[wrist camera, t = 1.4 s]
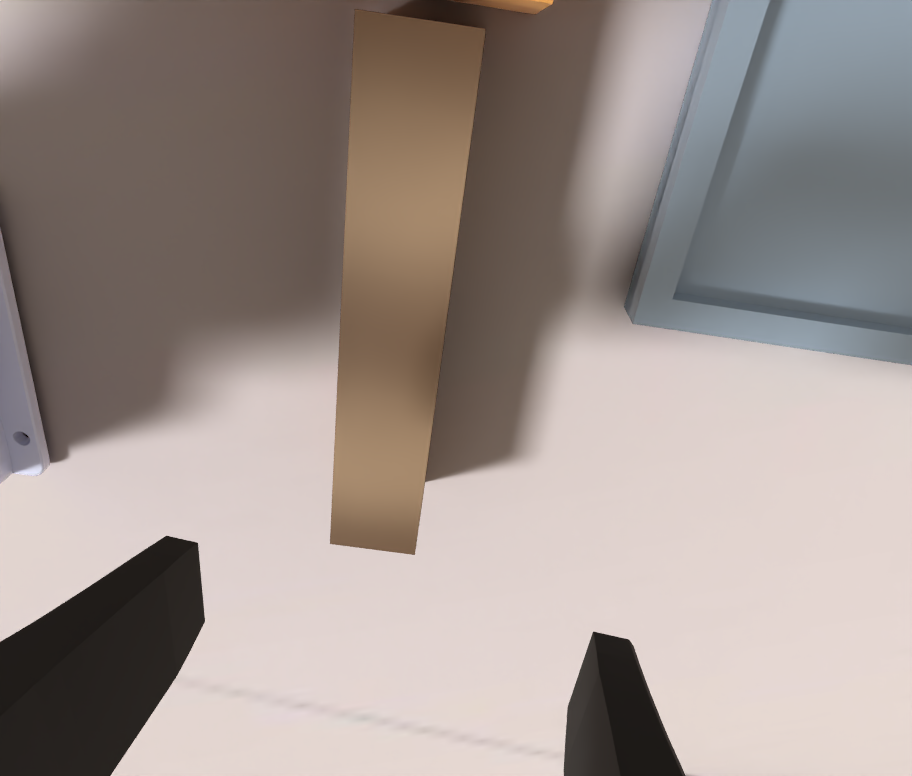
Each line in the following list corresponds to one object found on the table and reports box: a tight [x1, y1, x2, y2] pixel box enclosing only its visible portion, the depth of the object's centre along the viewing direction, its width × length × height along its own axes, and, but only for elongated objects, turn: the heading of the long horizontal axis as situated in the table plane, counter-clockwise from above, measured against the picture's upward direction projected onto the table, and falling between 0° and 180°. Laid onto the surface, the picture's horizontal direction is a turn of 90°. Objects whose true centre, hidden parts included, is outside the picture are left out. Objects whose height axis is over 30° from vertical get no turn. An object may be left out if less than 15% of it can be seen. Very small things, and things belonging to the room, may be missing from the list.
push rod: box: [330, 9, 486, 555], centre depth 16 cm, size 13×2×4 cm, turn 172°
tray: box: [624, 0, 912, 365], centre depth 15 cm, size 10×10×1 cm
